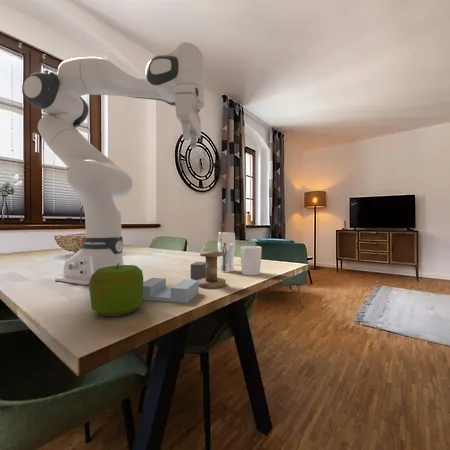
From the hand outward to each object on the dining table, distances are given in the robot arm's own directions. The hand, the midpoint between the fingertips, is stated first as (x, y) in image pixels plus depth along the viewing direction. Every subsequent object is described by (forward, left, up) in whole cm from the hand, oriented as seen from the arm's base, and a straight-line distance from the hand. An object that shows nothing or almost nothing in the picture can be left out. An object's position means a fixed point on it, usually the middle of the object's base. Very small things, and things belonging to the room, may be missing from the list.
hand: (190, 144), depth 83 cm
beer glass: (+7, +21, -44) cm, 50 cm away
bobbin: (+7, -1, -44) cm, 45 cm away
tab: (0, +8, -44) cm, 45 cm away
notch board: (-1, -15, -44) cm, 47 cm away
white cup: (+17, +18, -44) cm, 51 cm away
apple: (-7, -28, -44) cm, 53 cm away
